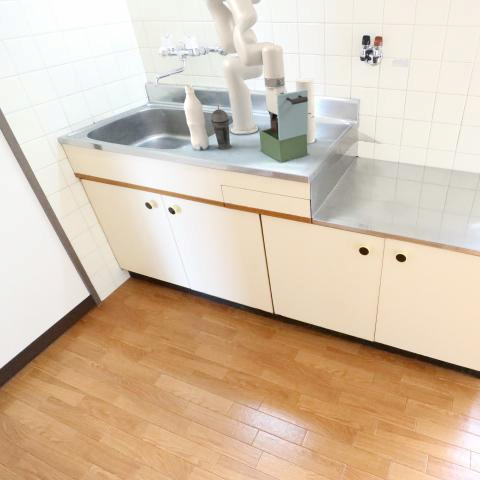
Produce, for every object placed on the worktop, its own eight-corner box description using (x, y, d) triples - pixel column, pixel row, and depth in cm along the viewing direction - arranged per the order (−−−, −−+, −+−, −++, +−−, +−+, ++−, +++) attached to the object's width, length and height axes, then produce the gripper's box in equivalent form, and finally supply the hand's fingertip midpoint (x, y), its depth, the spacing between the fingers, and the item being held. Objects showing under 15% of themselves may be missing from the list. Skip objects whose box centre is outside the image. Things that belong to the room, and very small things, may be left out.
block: (271, 130, 150) (270, 119, 148) (280, 128, 152) (279, 117, 150) (276, 133, 147) (276, 122, 145) (286, 131, 149) (285, 119, 147)
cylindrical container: (296, 139, 165) (292, 79, 150) (310, 136, 167) (308, 77, 153) (303, 144, 160) (300, 82, 145) (317, 141, 162) (316, 80, 148)
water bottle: (207, 150, 155) (195, 87, 141) (190, 151, 156) (176, 88, 141) (211, 144, 161) (200, 83, 147) (195, 144, 161) (182, 83, 147)
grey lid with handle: (276, 95, 129) (285, 99, 126) (306, 89, 135) (315, 93, 132) (278, 140, 140) (286, 145, 136) (306, 132, 146) (314, 137, 142)
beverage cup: (231, 143, 162) (224, 95, 151) (234, 148, 157) (227, 99, 145) (214, 145, 160) (206, 97, 149) (217, 151, 155) (208, 101, 143)
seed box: (261, 150, 155) (259, 130, 150) (286, 143, 161) (285, 124, 156) (281, 162, 144) (279, 141, 140) (307, 154, 150) (306, 134, 146)
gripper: (295, 84, 135) (298, 134, 146) (272, 77, 147) (276, 123, 157) (278, 87, 132) (281, 138, 142) (255, 80, 143) (260, 127, 154)
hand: (278, 130), depth 150 cm, fingers closed on block, 4 cm apart
